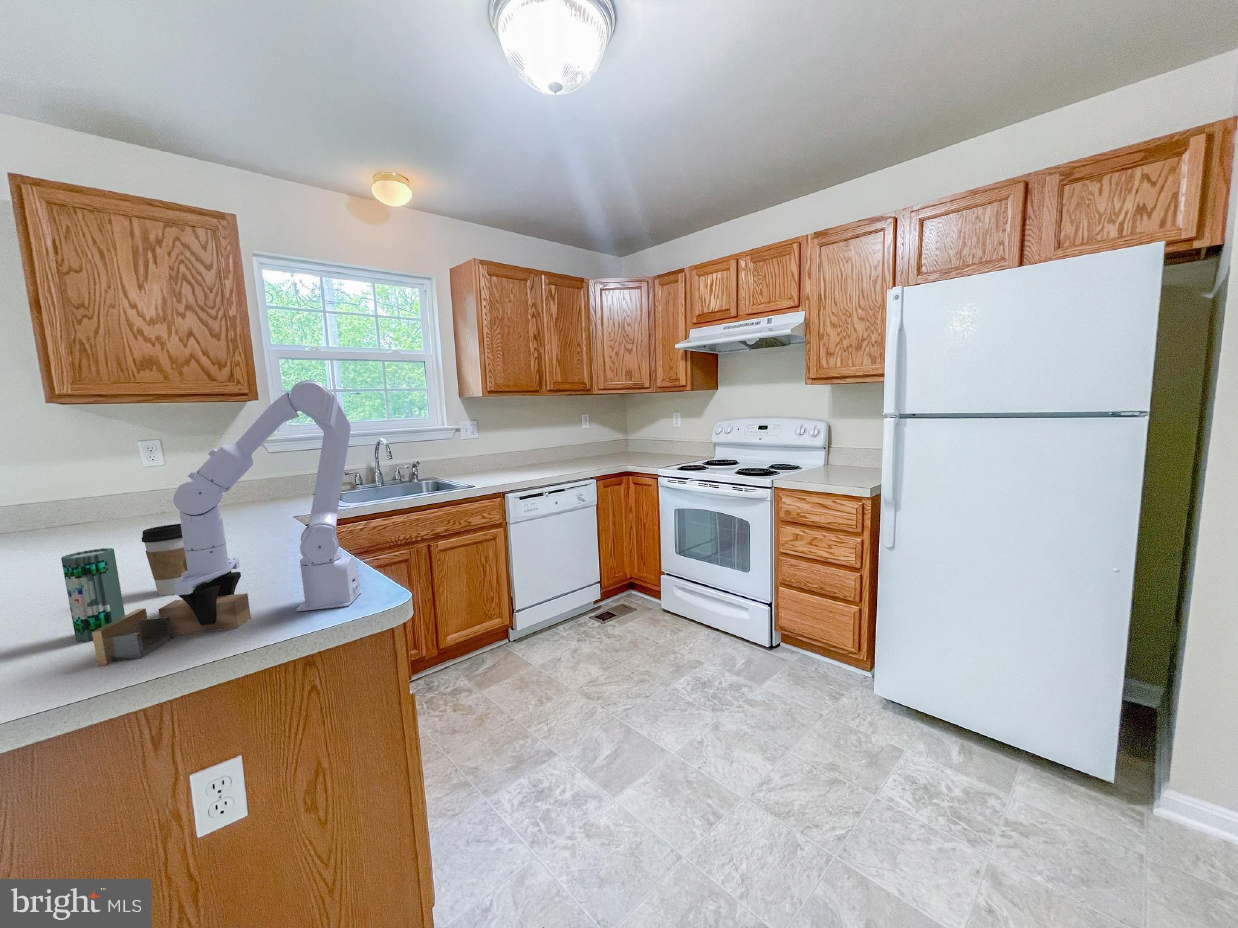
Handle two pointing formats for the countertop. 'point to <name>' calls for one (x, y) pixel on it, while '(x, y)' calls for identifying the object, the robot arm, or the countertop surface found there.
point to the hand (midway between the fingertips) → (216, 618)
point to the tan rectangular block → (228, 615)
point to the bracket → (131, 637)
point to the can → (92, 590)
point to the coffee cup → (165, 556)
